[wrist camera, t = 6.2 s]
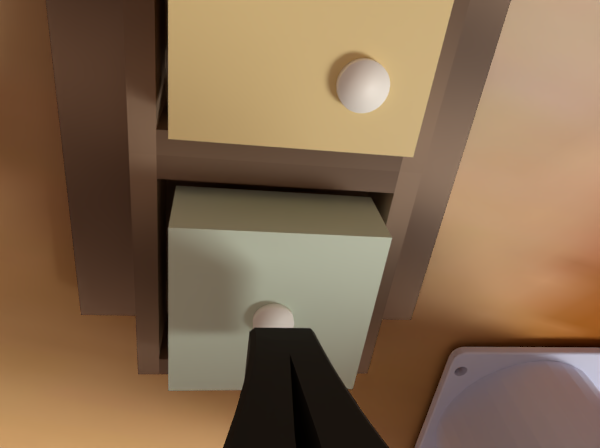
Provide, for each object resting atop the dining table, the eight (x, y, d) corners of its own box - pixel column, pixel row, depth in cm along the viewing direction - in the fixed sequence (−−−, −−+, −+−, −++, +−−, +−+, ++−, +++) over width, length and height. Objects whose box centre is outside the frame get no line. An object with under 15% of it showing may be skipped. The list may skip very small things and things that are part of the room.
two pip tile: (387, 124, 12) (416, 161, 10) (176, 106, 11) (167, 142, 10) (442, -122, 10) (493, -131, 8) (178, -169, 9) (166, -193, 7)
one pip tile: (339, 338, 16) (354, 394, 14) (174, 337, 15) (167, 396, 13) (370, 197, 13) (394, 242, 11) (175, 185, 12) (167, 232, 11)
